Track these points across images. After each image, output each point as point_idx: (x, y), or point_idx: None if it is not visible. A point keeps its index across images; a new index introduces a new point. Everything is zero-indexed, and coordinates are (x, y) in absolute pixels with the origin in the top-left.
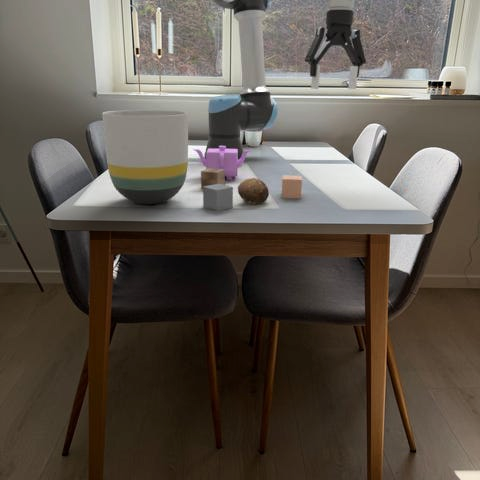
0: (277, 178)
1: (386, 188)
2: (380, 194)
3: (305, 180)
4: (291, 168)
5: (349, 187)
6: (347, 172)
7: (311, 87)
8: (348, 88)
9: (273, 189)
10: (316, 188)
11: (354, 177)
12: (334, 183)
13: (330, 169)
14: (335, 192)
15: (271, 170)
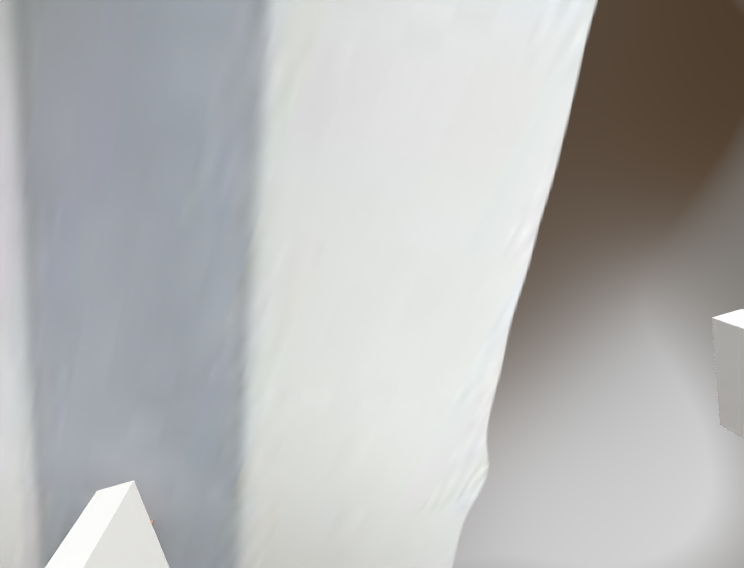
0: (119, 265)
1: (481, 468)
2: (418, 540)
3: (234, 317)
4: (247, 31)
5: (362, 445)
6: (481, 177)
7: (94, 505)
8: (716, 322)
9: (64, 453)
10: (235, 450)
11: (460, 284)
12: (333, 380)
13: (435, 92)
14: (282, 508)
15: (125, 69)
